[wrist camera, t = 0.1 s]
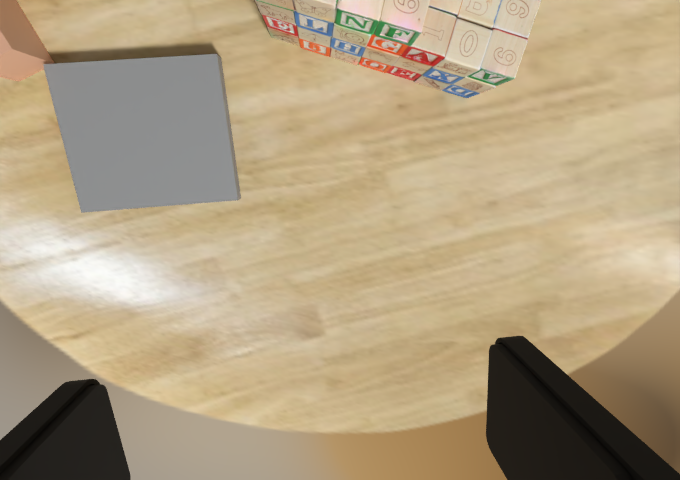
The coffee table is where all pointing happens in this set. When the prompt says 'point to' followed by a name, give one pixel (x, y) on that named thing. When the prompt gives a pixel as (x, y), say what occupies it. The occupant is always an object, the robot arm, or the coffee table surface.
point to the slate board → (145, 131)
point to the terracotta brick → (19, 44)
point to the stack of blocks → (413, 37)
